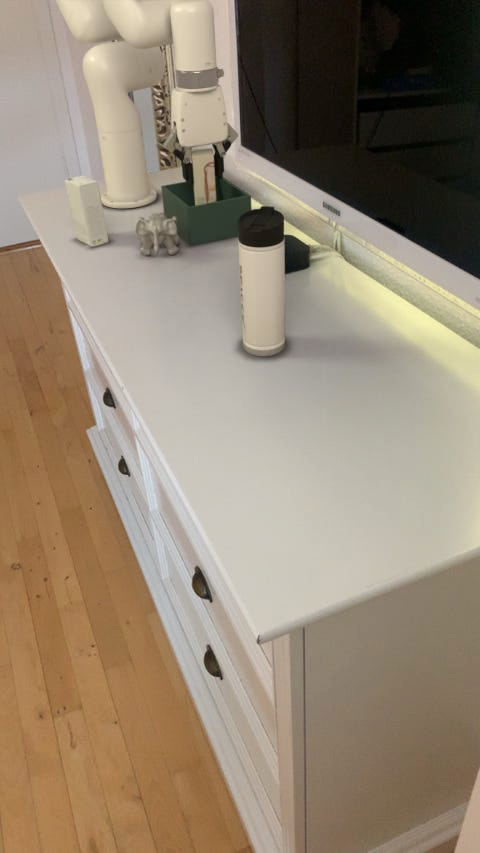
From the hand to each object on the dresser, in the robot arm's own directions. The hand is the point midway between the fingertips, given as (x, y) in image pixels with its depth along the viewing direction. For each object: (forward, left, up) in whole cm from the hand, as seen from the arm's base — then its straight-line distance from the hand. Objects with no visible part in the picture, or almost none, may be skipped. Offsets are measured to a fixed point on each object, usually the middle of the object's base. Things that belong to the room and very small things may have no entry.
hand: (203, 178), depth 138 cm
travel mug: (+49, -11, -10) cm, 51 cm away
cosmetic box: (-5, -23, -10) cm, 26 cm away
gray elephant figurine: (+9, -13, -10) cm, 19 cm away
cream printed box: (0, 0, -5) cm, 5 cm away
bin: (0, 0, -10) cm, 10 cm away
